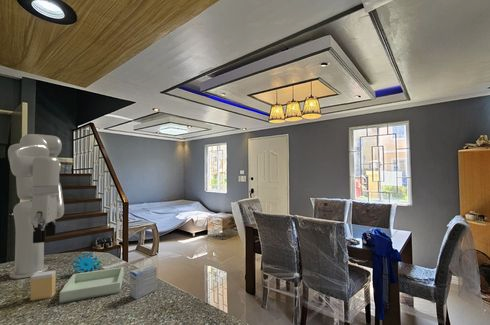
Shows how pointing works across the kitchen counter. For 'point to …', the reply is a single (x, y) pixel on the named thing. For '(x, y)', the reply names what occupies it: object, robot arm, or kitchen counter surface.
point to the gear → (86, 263)
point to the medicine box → (143, 281)
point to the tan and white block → (43, 285)
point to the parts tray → (92, 284)
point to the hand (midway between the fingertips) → (44, 238)
